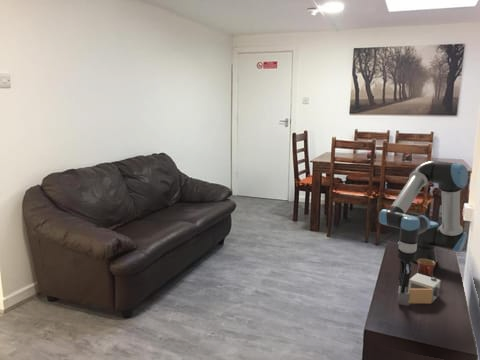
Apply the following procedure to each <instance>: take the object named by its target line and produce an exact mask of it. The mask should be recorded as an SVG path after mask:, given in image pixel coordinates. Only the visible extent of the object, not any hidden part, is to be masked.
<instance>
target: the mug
mask: <svg viewBox="0 0 480 360" xmlns="http://www.w3.org/2000/svg"><path fill="white" fill-rule="evenodd" d="M417 262H418V263H417V272H416V274H417V273H419V274H422V275H425V276H428V277H434V268H435V266H436V263H435V262H434V261H432V260H429V259H418V260H417Z"/></svg>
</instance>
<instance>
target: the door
mask: <svg viewBox="0 0 480 360" xmlns="http://www.w3.org/2000/svg"><path fill="white" fill-rule="evenodd" d="M397 293H398V292H397ZM433 294H434V288H432V289H411V288H410V292H409V293H408V292H405V293H398V294H397V301H398V302H400V301H401V302H408V304H433V303H434V301H433Z"/></svg>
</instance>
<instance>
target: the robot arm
mask: <svg viewBox="0 0 480 360" xmlns="http://www.w3.org/2000/svg"><path fill="white" fill-rule="evenodd" d="M408 178H409V179H408V181H407V182H406V183H405V185H404V186H403V188H402V189H401V191H400V192H399V193H398V195H397V197H396V198H395V200H394V201H393V202H392V204H391V206H390V207H389V208H388V209H384V208H383V209H381V210H380V211H379V214H378V222H379V223H380V224H381V225H384V226H387V227H393V228H396V229H400V230H399V240H398V242H397V245H398V249H397V258H398V259H399V261H398V262H399V270H398V292H397V293H406V290H407V288H409V280H410V277H411V274H412V269H411V266H412V263H411V262H414V263H416V264H418V262H417V260H418V259H429V260H432V261H434V262H435V263H437V261H438V258H437V253H436V247H437V248H439V249H445V250H448V251H451V252H456V253H459V252H461V251H462V250H463V248H464V246H465V245H466V241H467V237H468V233H467V232H465V231H464V228H463V226H462V225H461V223H460V222H461V219H460V218H461V191H462V190H463V189H464V188H465V187H466V186H467V184H468V181H469V179H468V178H469V171H468V167H466V166H465V164H462V163H457V162H447V161H446V162H445V161H440V160H438V161H437V160H428V161H425V162H423V163H421V164H419V165H417V166H416V167H415V168H414V169H413V170H411V172H410V173H409V174H408ZM428 183H432V184H437V188H438V190H439V191H441V224H440V225H439V223H438V222H437V221H433V220H430V219H429V217H427V216H426V215H421V214H420V215H417V216H416V215H412V214H408V213H407V212H408V210H409V209H410V207H411V205H412V204H413V202H414V201H415V200H416V197H418V194H419V193H420V192H421V191H422V188H423V187H425V186H427V184H428Z"/></svg>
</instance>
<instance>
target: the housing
mask: <svg viewBox="0 0 480 360" xmlns="http://www.w3.org/2000/svg"><path fill="white" fill-rule="evenodd" d="M441 281H442V280H441V279H438V278H436V277H435V276H433V277H428V276H425V275H422V274H419V273H417V272H416V273H415V274H414V275H413V276H412V277H411V278H409V282H408V287H407V288H408V291H407V293H409V292H410V288H411V289H432V288H434V294H433V302H434V301H435V300H436V299H437V298H438V297H439V295H440V290H441V289H440V288H441V287H440V286H441Z"/></svg>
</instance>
